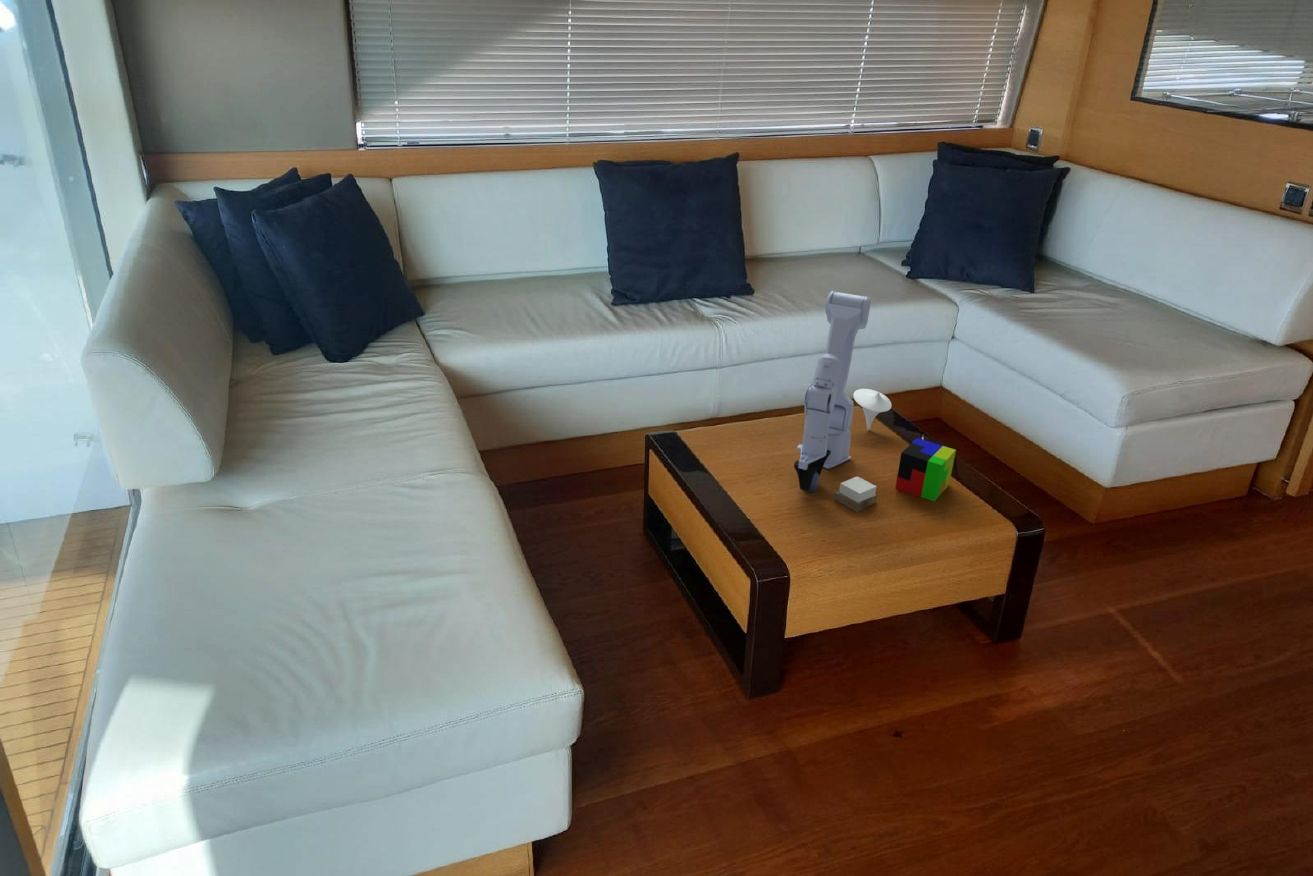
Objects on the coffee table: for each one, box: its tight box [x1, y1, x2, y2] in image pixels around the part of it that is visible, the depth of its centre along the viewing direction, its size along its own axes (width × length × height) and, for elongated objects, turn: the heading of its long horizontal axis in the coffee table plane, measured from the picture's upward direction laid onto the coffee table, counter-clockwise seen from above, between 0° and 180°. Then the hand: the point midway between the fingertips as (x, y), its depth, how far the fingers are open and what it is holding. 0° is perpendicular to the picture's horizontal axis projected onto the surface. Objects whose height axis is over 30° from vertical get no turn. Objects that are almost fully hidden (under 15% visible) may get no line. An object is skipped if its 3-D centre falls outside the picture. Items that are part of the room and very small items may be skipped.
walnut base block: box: [834, 490, 878, 513], centre depth 223 cm, size 7×7×2 cm
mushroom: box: [852, 388, 892, 431], centre depth 256 cm, size 10×11×12 cm
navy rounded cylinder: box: [801, 472, 820, 493], centre depth 227 cm, size 4×4×4 cm
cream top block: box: [838, 476, 877, 503], centre depth 222 cm, size 6×6×2 cm
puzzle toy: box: [894, 438, 957, 502], centre depth 229 cm, size 10×10×10 cm
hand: (809, 483), depth 228 cm, fingers open, 6 cm apart
